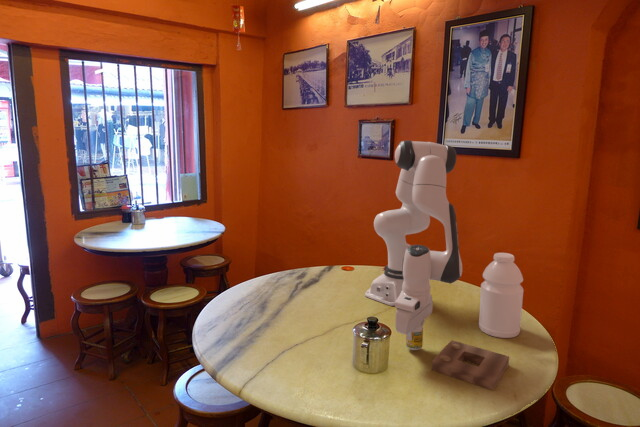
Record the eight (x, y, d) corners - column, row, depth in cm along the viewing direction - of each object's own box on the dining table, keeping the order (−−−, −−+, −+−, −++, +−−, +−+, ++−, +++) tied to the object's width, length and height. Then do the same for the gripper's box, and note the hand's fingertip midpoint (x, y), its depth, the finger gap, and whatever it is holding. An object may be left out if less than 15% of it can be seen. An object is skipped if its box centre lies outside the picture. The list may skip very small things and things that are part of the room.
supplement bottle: (414, 340, 148) (414, 314, 146) (425, 347, 144) (426, 320, 142) (402, 345, 145) (403, 318, 143) (414, 352, 141) (414, 324, 139)
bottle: (470, 325, 161) (474, 252, 156) (498, 318, 167) (503, 247, 161) (499, 342, 149) (504, 263, 143) (529, 334, 154) (535, 257, 149)
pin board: (431, 369, 133) (432, 360, 132) (451, 348, 145) (451, 339, 144) (493, 390, 122) (494, 380, 121) (508, 365, 134) (509, 355, 134)
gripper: (420, 284, 151) (419, 321, 153) (392, 304, 135) (391, 345, 138) (438, 288, 147) (436, 326, 150) (411, 309, 131) (409, 351, 134)
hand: (414, 335), depth 144 cm, fingers closed on supplement bottle, 5 cm apart
